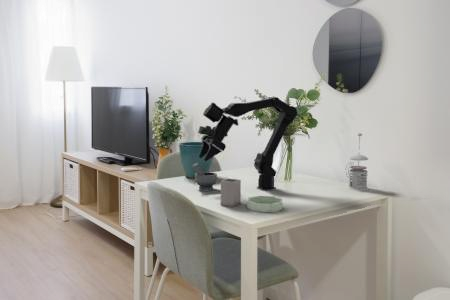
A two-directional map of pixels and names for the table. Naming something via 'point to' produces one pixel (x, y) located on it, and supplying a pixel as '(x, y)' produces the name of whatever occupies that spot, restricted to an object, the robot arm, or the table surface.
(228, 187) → the tumbler
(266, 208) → the dish
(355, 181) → the french press
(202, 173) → the mortar and pestle
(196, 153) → the flower pot
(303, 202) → the table surface
